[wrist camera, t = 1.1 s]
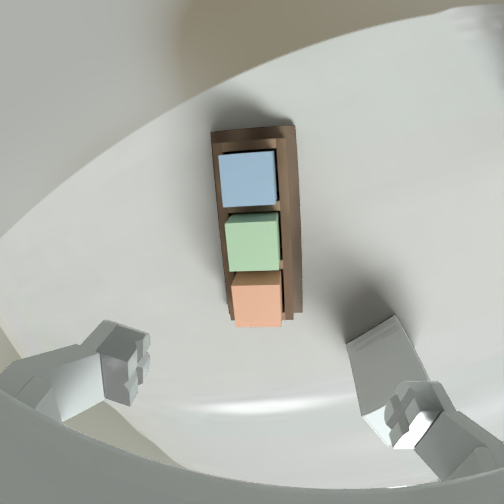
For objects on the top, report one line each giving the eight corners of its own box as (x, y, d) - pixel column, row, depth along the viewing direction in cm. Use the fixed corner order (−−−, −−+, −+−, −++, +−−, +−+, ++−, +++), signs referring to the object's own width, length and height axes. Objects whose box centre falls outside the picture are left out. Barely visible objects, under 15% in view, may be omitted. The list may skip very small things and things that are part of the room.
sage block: (278, 210, 35) (276, 221, 30) (280, 253, 36) (278, 270, 32) (233, 212, 35) (224, 223, 31) (237, 255, 37) (229, 271, 32)
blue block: (274, 150, 33) (271, 151, 28) (277, 196, 34) (275, 204, 30) (228, 154, 33) (218, 155, 29) (232, 199, 35) (223, 207, 30)
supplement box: (343, 343, 45) (358, 416, 31) (395, 312, 42) (429, 378, 28) (368, 378, 46) (386, 448, 32) (416, 351, 44) (447, 416, 30)
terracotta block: (281, 266, 37) (279, 284, 32) (282, 304, 38) (281, 326, 34) (238, 268, 38) (231, 285, 33) (242, 305, 39) (235, 326, 34)
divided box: (294, 126, 36) (296, 122, 30) (302, 307, 43) (303, 330, 38) (213, 132, 37) (200, 130, 31) (231, 308, 45) (222, 331, 39)
